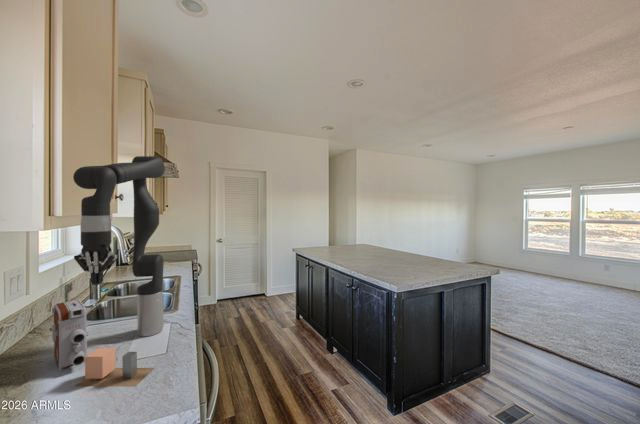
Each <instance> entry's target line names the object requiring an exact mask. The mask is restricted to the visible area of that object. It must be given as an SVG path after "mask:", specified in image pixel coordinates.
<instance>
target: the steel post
mask: <svg viewBox="0 0 640 424" xmlns="http://www.w3.org/2000/svg"><path fill="white" fill-rule="evenodd" d="M137 355H138V353H137V351H128V352H126V353H124V355H122V360H121V361H122V368H123V379H132V378H133V377H134V376H135V375H136V374H137V368H138V356H137Z"/></svg>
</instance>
